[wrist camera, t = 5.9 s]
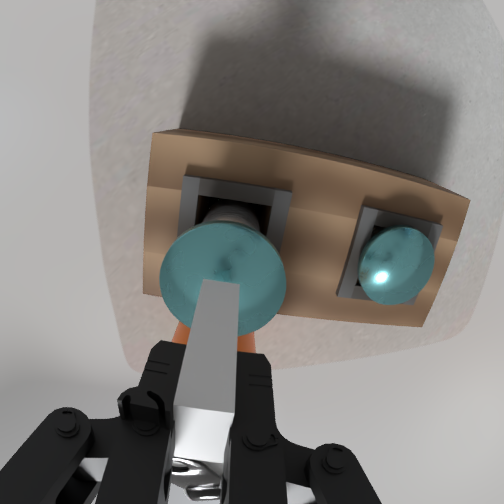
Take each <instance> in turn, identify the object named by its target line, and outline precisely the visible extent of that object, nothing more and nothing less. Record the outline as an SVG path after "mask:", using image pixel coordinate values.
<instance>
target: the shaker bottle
mask: <svg viewBox="0 0 504 504" xmlns="http://www.w3.org/2000/svg"><path fill="white" fill-rule="evenodd" d="M190 330H191V328H189V327H187V326H186V325H184V324H183V323H182V322H180V321H179V323H178V326H177V329H176V331H175V334H174V336H173V339H172V342H174V343H180V344H186V345H187V342H188V338H189V334H190ZM237 351H241V352H249V353H256V350H255V339H254V332H251V333H249V334H246V335H242V336H238V337H237ZM223 463H224V462H223ZM223 463H217V462H209V461H201V460H194V459H187V458H181V457H175V456H174V457H173V463H172V478H171V483H173V484H175V485H177V486H179V487H181V488H184V492H185V494H186V496H187V498H188V499H189V500H191V501H206V500H219V499H220V493H221V488H219V486H220V482H221V478H222V474H223Z"/></svg>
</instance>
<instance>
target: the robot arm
mask: <svg viewBox="0 0 504 504" xmlns="http://www.w3.org/2000/svg"><path fill="white" fill-rule="evenodd" d="M239 289H240V284H234V283H228V282H221V281H214V280H207V279H203V282H202V285H201V289H200V293H199V297H198V301H197V305H196V309H195V313H194V317H193V321H192V325H191V330H190V334H189V338H188V342H187V345H186V344H180V343H174V342H168V341H162V340H161V341H159V342H158V343H157V344H156V345H155V346H154V347H153V348H152V349H151V351H150V354H149V357H148V360H147V362H146V365H145V368H144V371H143V374H142V377H141V380H140V382H139V385H138V386H137V387H133V388H129V389H127V390H126V391H125V392H123V393H121V395H120V396H119V398H118V399H117V402H118V408H119V413H120V416H119V417H115V418H110V419H88V417H87V416H86V415H85V414H84V413H83V412H81V411H80V410H77V409H75V408H69V407H68V408H67V407H63V408H59V409H56V410H54V411H53V412H52V413H50V414H49V415H48V416H47V417H46V418H45V419H44V421H43V422H42V423H41V424H40V425H39V426H38V427H37V429H36V430H35V431H34V432H33V433H32V434H31V435H30V437H29V438H28V439H27V440H26V441H25V442H24V443H23V445H22V446H21V447H20V448H19V449H18V451H17V452H16V453H15V454H14V455H13V456H12V458H11V459H10V460H9V461H8V462H7V464H6V465H5V466H4V467H3V468H2V469H1V471H0V504H91V503H92V501H93V500H94V498H95V497H96V495H97V493H98V495H97V499H96V502H95V504H168V498H169V491H170V484H171V478H172V463H173V457H174V456H175V457H181V458H187V459H194V460H201V461H209V462H217V463H223V462H224V463H223V474H222V478H221V482H220V486H219V488H221V493H220V504H382V503H381V502H380V500H379V498H378V496H377V494H376V492H375V491H374V489H373V487H372V485H371V483H370V482H369V480H368V478H367V476H366V474H365V473H364V471H363V469H362V467H361V465H360V464H359V462H358V460H357V458H356V456H355V455H354V454H353V453H352V452H351V450H349V449H348V448H346V447H344V446H342V445H338V444H334V443H332V444H324V445H321V446H319V447H317V448H316V449H315V450H314V449H310V448H307V447H303V446H300V445H297V444H294V443H292V442H290V441H288V440H287V439H285V438H284V437H283V436H282V435H281V434H280V432H279V431H278V429H277V426H276V422H275V410H274V398H273V388H272V379H271V378H272V375H271V365H270V363H269V361H268V360H267V358H266V357H265V355H264V354H258V353H249V352H241V351H237V336H238V312H239Z"/></svg>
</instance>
